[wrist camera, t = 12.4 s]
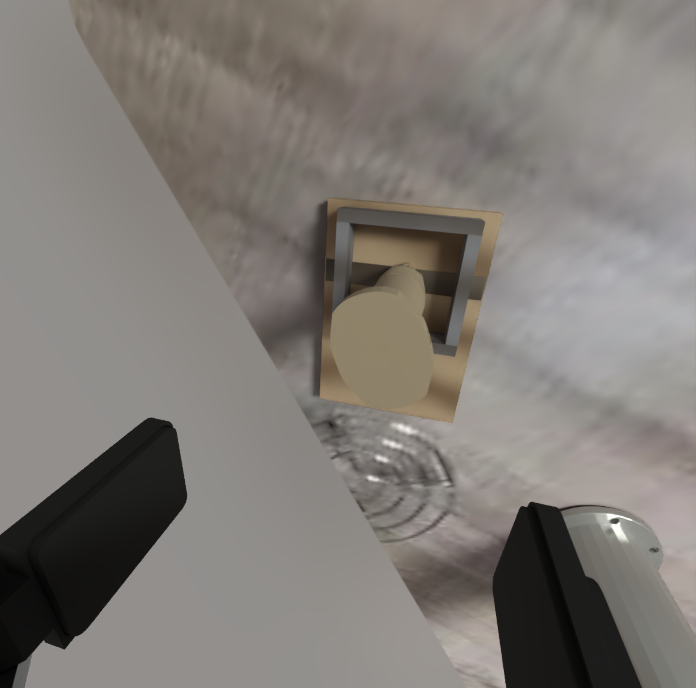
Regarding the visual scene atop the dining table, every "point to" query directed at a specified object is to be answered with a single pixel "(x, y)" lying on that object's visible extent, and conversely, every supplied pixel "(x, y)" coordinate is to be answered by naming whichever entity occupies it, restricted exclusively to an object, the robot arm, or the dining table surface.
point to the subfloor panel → (438, 276)
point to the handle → (385, 340)
